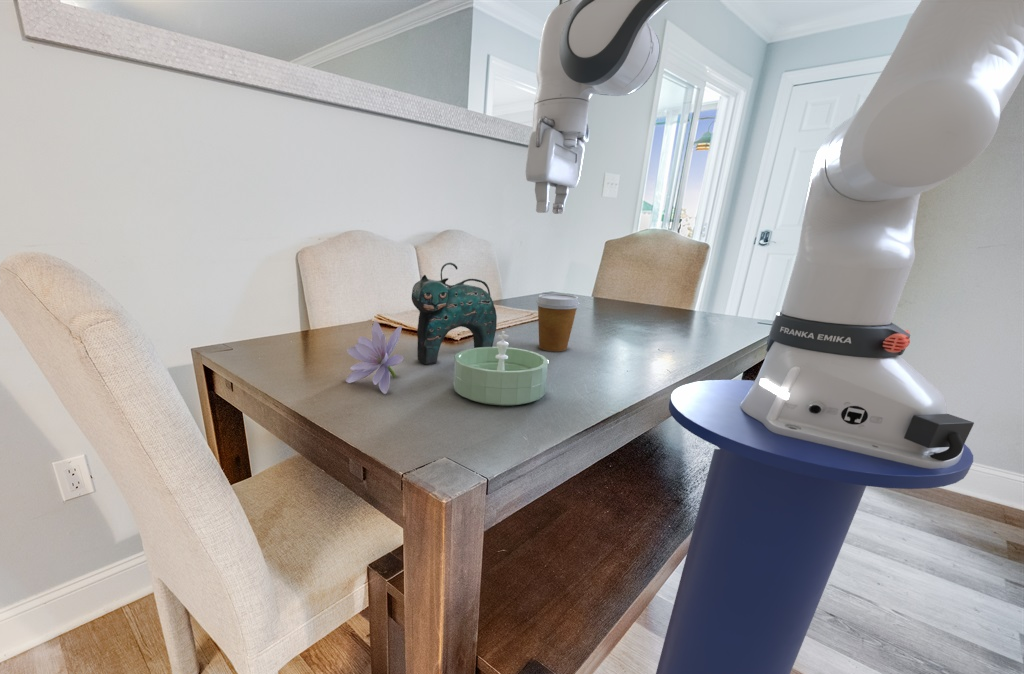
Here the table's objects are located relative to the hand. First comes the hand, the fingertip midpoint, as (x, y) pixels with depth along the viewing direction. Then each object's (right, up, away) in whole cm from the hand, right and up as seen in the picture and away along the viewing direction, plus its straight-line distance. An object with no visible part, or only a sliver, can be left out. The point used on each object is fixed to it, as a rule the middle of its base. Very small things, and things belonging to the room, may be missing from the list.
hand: (550, 213), depth 83 cm
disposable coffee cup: (+8, -22, +26) cm, 34 cm away
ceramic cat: (-16, -24, +18) cm, 34 cm away
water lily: (-32, -31, +2) cm, 44 cm away
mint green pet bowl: (-10, -32, -2) cm, 34 cm away
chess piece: (-10, -32, -3) cm, 33 cm away
